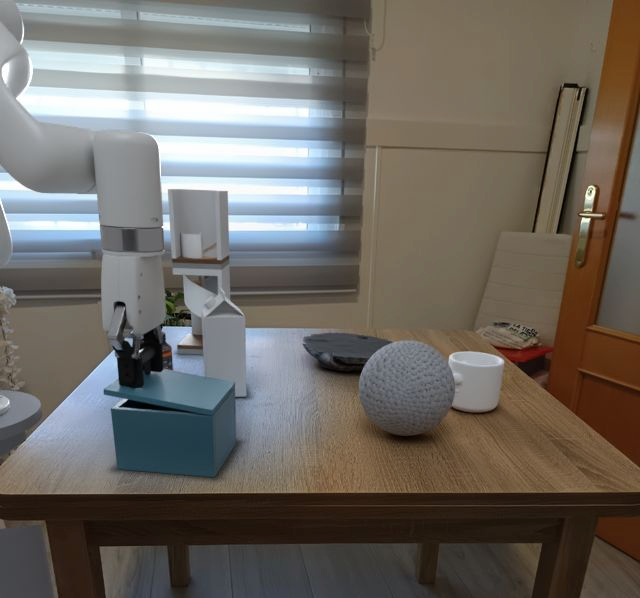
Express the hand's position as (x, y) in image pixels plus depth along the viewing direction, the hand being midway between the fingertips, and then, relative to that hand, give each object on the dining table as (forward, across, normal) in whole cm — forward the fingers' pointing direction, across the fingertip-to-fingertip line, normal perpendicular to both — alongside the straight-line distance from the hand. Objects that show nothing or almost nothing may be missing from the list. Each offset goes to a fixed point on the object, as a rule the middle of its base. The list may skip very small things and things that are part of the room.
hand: (142, 377), depth 79 cm
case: (+11, 0, +5) cm, 12 cm away
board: (+11, -52, +26) cm, 59 cm away
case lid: (+2, 0, +4) cm, 5 cm away
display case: (+12, -58, -9) cm, 60 cm away
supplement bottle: (+12, -25, -8) cm, 29 cm away
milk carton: (+12, -28, +4) cm, 30 cm away
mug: (+11, -31, +49) cm, 59 cm away
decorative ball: (+11, -15, +37) cm, 41 cm away
